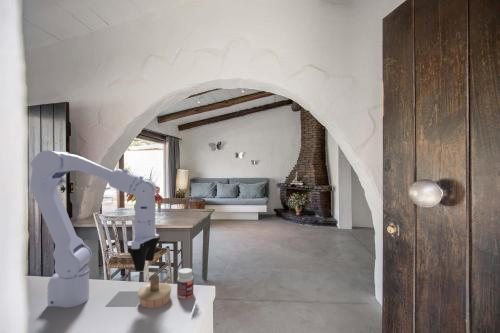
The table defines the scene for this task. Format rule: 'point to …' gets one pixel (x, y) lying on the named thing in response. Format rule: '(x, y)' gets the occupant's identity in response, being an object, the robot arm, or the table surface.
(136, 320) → the table surface
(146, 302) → the bowl
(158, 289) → the lid
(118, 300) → the coaster
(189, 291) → the pill bottle
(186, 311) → the table surface
